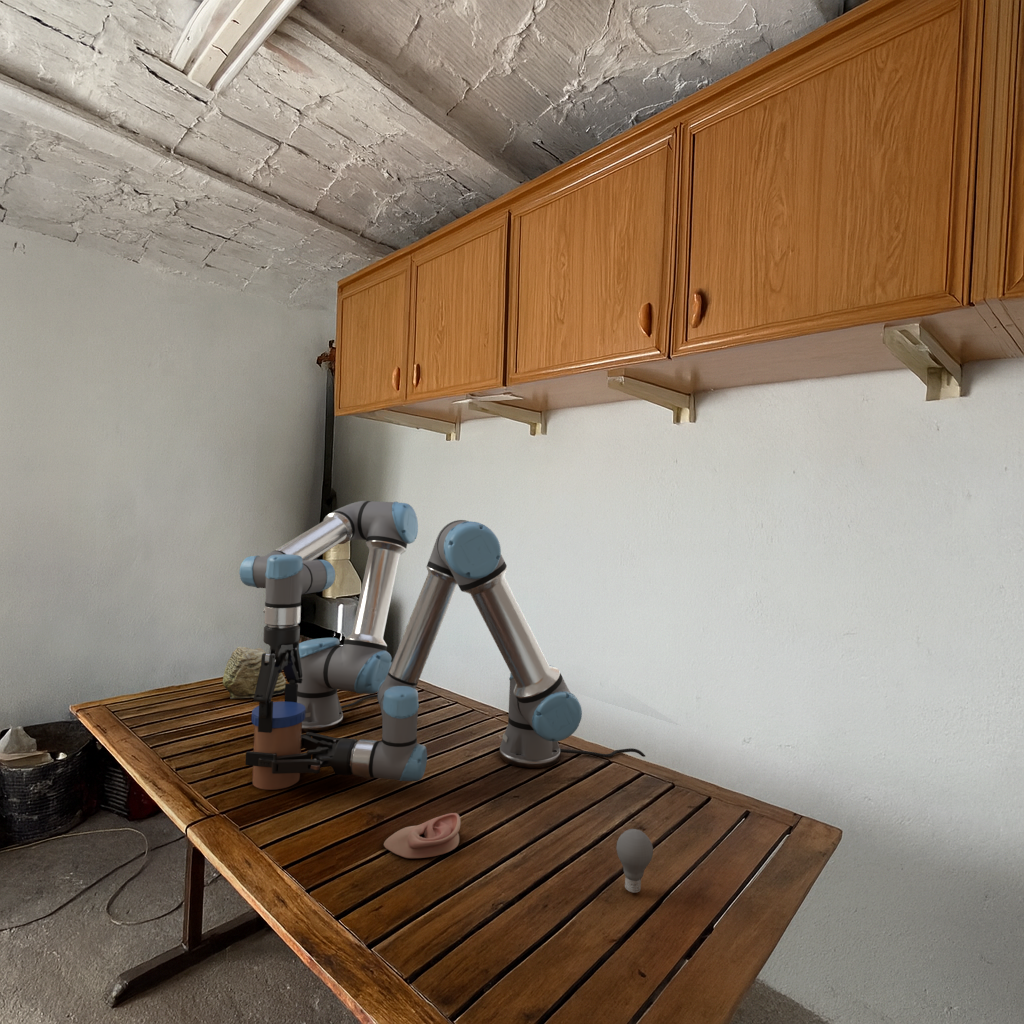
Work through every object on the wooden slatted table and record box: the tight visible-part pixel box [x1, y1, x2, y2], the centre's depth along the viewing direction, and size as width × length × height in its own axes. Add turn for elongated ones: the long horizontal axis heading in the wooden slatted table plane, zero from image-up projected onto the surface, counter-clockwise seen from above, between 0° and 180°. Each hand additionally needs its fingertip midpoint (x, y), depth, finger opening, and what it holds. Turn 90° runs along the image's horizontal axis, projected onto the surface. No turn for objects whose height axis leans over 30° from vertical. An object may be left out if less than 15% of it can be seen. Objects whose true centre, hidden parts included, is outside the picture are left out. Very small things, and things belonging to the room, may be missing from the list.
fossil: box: [222, 646, 287, 699], centre depth 198 cm, size 9×18×15 cm, turn 132°
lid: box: [250, 700, 306, 728], centre depth 141 cm, size 11×11×2 cm
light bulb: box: [615, 828, 654, 894], centre depth 106 cm, size 6×6×10 cm
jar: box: [251, 722, 303, 791], centre depth 141 cm, size 10×10×15 cm
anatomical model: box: [383, 812, 462, 859], centre depth 117 cm, size 13×4×12 cm
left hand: (278, 721), depth 140 cm, fingers open, 12 cm apart
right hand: (259, 748), depth 141 cm, fingers closed on jar, 10 cm apart
